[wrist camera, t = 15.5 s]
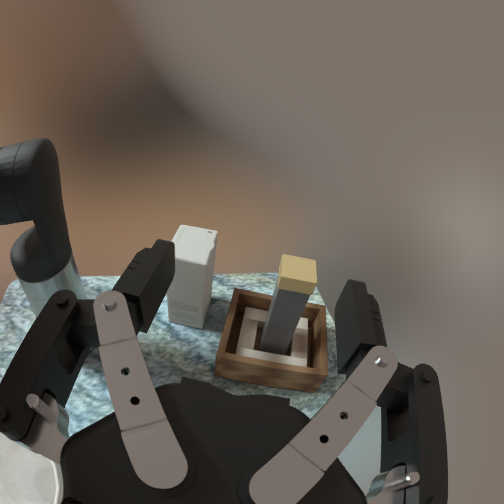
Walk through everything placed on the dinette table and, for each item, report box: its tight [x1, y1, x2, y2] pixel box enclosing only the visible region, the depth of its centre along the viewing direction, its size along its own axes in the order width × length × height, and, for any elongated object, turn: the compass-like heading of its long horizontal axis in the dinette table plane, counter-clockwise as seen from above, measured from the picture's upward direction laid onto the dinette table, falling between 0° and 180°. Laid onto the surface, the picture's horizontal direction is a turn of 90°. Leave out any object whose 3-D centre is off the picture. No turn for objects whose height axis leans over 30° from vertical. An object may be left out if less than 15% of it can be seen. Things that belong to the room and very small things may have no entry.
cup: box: [0, 432, 63, 504], centre depth 17 cm, size 12×12×11 cm
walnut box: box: [214, 288, 328, 393], centre depth 45 cm, size 16×14×6 cm
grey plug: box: [259, 254, 317, 355], centre depth 41 cm, size 4×4×18 cm
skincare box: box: [167, 225, 218, 329], centre depth 46 cm, size 8×7×16 cm
